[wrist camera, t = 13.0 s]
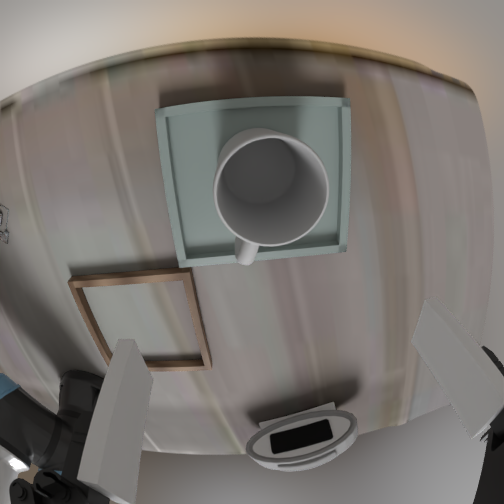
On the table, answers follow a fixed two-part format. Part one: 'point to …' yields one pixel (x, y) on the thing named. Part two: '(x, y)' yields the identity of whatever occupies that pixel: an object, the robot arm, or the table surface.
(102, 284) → the frame
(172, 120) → the tray
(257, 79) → the table surface
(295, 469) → the alarm clock
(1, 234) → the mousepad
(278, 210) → the mug
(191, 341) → the table surface
